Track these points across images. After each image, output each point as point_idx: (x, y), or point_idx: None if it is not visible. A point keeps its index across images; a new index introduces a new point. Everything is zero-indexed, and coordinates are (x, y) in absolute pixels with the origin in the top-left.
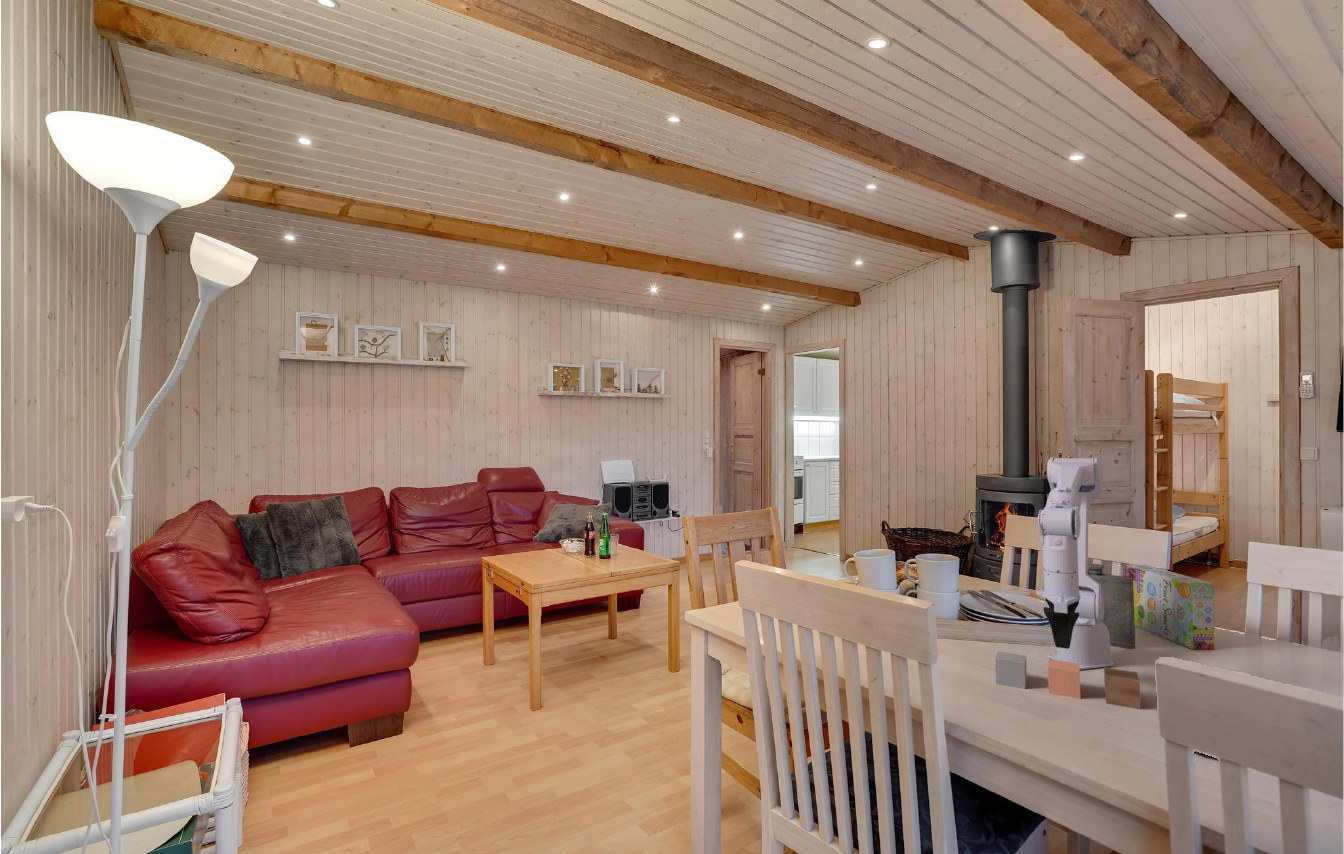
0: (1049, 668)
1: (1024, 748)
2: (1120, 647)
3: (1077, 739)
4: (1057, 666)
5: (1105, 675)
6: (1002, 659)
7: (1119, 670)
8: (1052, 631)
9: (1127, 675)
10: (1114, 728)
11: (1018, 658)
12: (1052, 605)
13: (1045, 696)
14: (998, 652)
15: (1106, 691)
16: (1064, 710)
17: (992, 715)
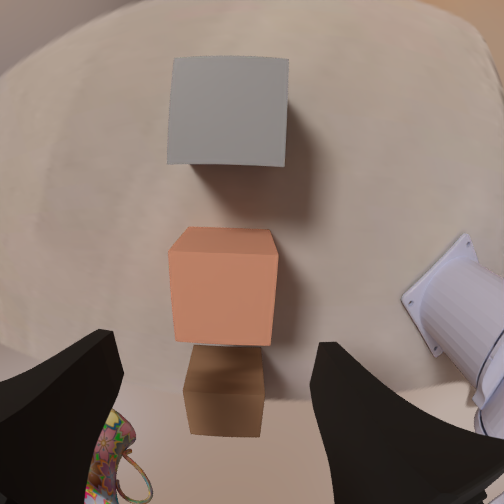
0: (168, 254)
1: None
2: None
3: (7, 273)
4: (196, 282)
5: (188, 391)
6: (178, 80)
7: (254, 416)
8: (39, 364)
9: (221, 424)
10: (75, 335)
11: (225, 136)
12: (397, 482)
13: (157, 218)
14: (272, 60)
15: (189, 363)
16: (95, 260)
17: (13, 129)
